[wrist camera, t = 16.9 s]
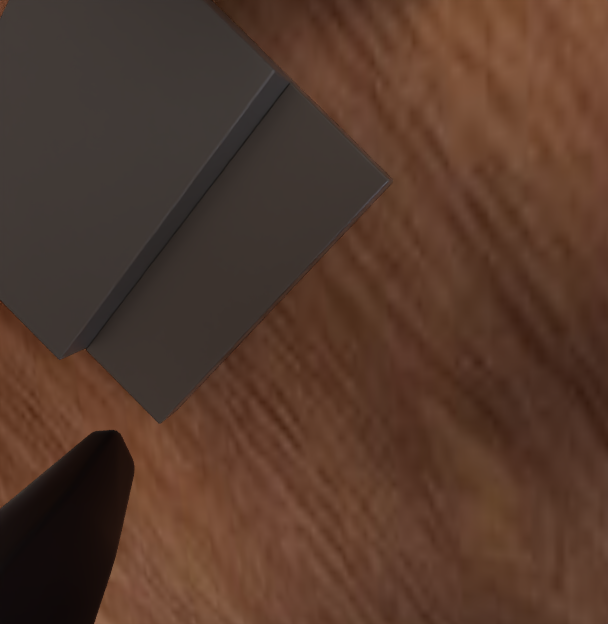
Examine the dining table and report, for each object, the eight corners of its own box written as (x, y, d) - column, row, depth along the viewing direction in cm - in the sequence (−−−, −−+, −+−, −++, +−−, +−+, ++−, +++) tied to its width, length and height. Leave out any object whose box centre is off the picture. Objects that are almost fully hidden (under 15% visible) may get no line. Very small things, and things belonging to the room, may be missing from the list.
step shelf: (394, 180, 18) (385, 179, 15) (176, 410, 24) (139, 442, 21) (130, -81, 18) (69, -133, 15) (-25, 206, 24) (-91, 208, 21)
